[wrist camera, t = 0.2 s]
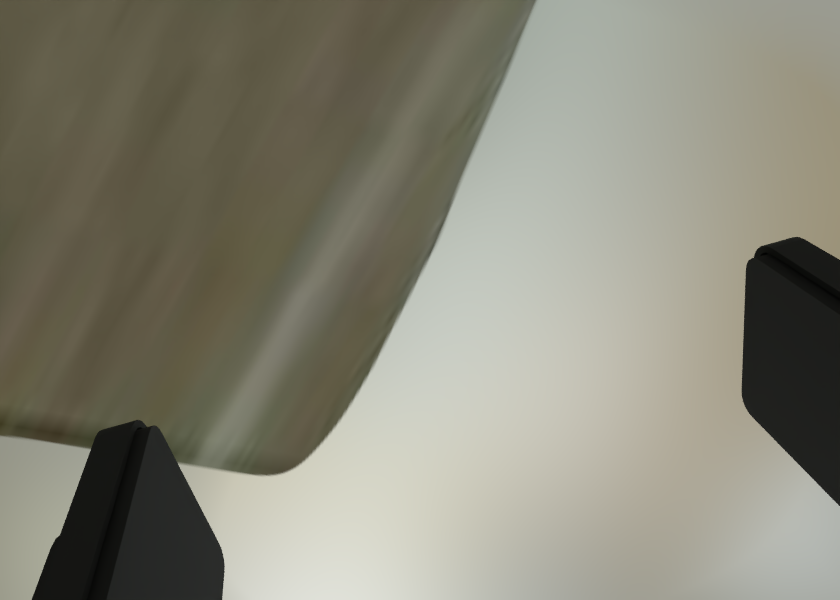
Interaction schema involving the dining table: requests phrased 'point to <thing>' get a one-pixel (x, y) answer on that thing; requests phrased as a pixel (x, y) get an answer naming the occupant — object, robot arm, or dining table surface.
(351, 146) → the dining table surface
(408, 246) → the dining table surface
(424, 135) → the dining table surface
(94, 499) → the robot arm
